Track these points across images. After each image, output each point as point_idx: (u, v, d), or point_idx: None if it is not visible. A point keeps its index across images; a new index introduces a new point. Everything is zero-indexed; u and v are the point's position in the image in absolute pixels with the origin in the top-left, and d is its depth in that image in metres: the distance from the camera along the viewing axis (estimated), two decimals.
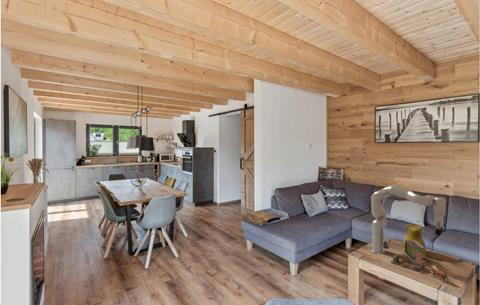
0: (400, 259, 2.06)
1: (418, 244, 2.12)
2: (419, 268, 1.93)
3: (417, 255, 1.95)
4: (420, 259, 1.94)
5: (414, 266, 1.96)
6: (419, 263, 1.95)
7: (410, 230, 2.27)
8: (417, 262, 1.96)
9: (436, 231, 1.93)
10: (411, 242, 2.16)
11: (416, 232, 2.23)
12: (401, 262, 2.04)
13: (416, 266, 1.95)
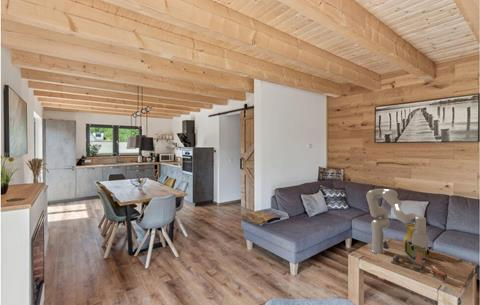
0: (400, 259, 2.06)
1: None
2: (419, 268, 1.93)
3: (417, 255, 1.95)
4: (420, 259, 1.94)
5: (414, 266, 1.96)
6: (419, 263, 1.95)
7: (410, 230, 2.27)
8: (417, 262, 1.96)
9: None
10: (411, 242, 2.16)
11: None
12: (401, 262, 2.04)
13: (416, 266, 1.95)
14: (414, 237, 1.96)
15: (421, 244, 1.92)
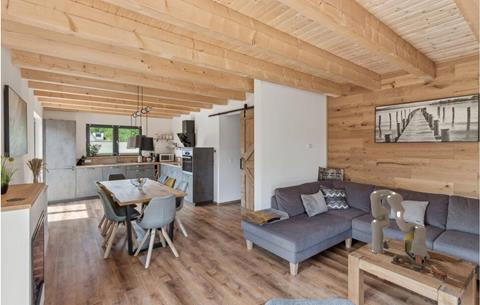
0: (400, 259, 2.06)
1: None
2: (419, 268, 1.93)
3: (417, 255, 1.95)
4: (420, 259, 1.94)
5: (414, 266, 1.96)
6: (419, 263, 1.95)
7: None
8: (417, 262, 1.96)
9: None
10: (411, 242, 2.16)
11: None
12: (401, 262, 2.04)
13: (416, 266, 1.95)
14: (413, 246, 1.96)
15: (420, 253, 1.93)
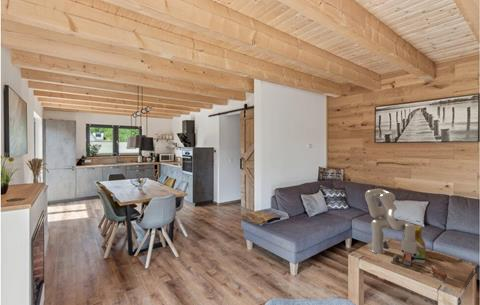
0: (400, 259, 2.06)
1: (418, 244, 2.12)
2: (409, 265, 1.98)
3: (407, 252, 2.00)
4: (410, 256, 1.99)
5: (404, 263, 2.01)
6: (409, 260, 2.00)
7: None
8: (407, 259, 2.01)
9: (412, 258, 1.99)
10: None
11: (416, 232, 2.23)
12: (401, 262, 2.04)
13: (406, 263, 2.00)
14: (403, 243, 2.01)
15: (410, 250, 1.98)
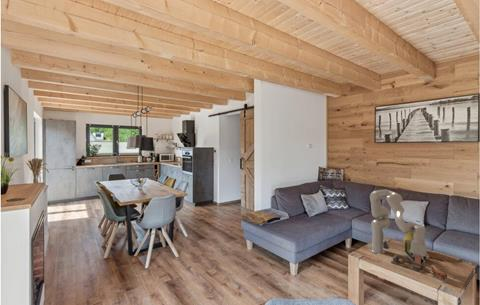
0: (400, 259, 2.06)
1: None
2: (418, 268, 1.94)
3: (416, 255, 1.96)
4: (420, 259, 1.94)
5: (413, 266, 1.96)
6: (418, 263, 1.95)
7: None
8: (416, 262, 1.96)
9: (422, 260, 1.94)
10: (411, 242, 2.16)
11: None
12: (401, 262, 2.04)
13: (415, 266, 1.95)
14: (413, 246, 1.97)
15: (419, 253, 1.93)
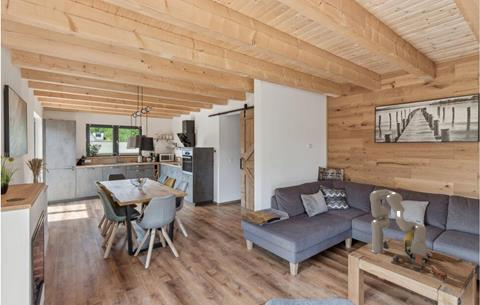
0: (400, 259, 2.06)
1: None
2: (419, 268, 1.93)
3: (417, 255, 1.95)
4: (420, 259, 1.94)
5: (414, 266, 1.96)
6: (419, 263, 1.95)
7: None
8: (417, 262, 1.96)
9: (426, 260, 1.92)
10: (411, 242, 2.16)
11: None
12: (401, 262, 2.04)
13: (416, 266, 1.95)
14: (413, 245, 1.97)
15: (420, 253, 1.93)
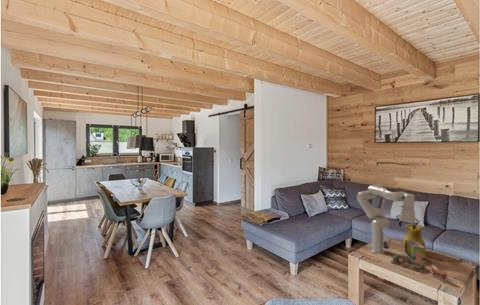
0: (400, 259, 2.06)
1: (418, 244, 2.12)
2: (419, 268, 1.93)
3: (417, 255, 1.95)
4: (420, 259, 1.94)
5: (414, 266, 1.96)
6: (419, 263, 1.95)
7: (410, 230, 2.27)
8: (417, 262, 1.96)
9: (414, 226, 2.00)
10: (411, 242, 2.16)
11: (416, 232, 2.23)
12: (401, 262, 2.04)
13: (416, 266, 1.95)
14: (402, 213, 2.04)
15: (408, 220, 2.01)
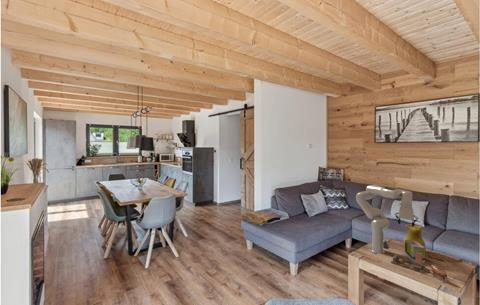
0: (400, 259, 2.06)
1: (418, 244, 2.12)
2: (419, 268, 1.93)
3: (417, 255, 1.95)
4: (420, 259, 1.94)
5: (414, 266, 1.96)
6: (419, 263, 1.95)
7: (410, 230, 2.27)
8: (417, 262, 1.96)
9: (413, 224, 2.01)
10: (411, 242, 2.16)
11: (416, 232, 2.23)
12: (401, 262, 2.04)
13: (416, 266, 1.95)
14: (401, 211, 2.05)
15: (407, 217, 2.02)
